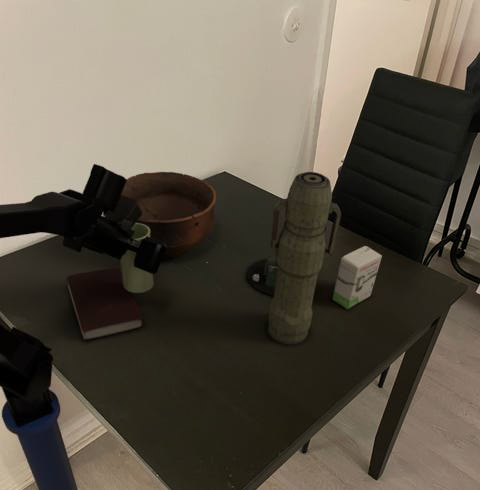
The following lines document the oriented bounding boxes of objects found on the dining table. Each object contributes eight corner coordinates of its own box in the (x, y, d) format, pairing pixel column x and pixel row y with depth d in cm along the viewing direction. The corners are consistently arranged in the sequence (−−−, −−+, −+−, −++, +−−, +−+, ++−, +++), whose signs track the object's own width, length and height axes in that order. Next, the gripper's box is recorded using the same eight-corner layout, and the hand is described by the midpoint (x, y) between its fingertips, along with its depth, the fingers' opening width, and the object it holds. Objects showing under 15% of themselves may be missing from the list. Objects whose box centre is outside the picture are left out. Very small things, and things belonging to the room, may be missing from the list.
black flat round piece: (249, 257, 128) (251, 238, 125) (308, 262, 128) (311, 244, 124) (245, 293, 117) (246, 274, 113) (309, 299, 116) (313, 280, 113)
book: (122, 276, 119) (121, 265, 117) (144, 328, 106) (143, 316, 104) (67, 287, 115) (65, 275, 113) (83, 342, 102) (81, 330, 100)
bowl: (202, 283, 119) (202, 227, 109) (102, 267, 121) (93, 211, 111) (223, 229, 138) (225, 177, 128) (136, 216, 140) (131, 165, 130)
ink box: (347, 310, 114) (358, 267, 107) (331, 299, 117) (340, 256, 109) (371, 296, 119) (383, 254, 111) (355, 286, 122) (365, 244, 114)
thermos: (258, 316, 111) (275, 165, 88) (311, 317, 112) (341, 167, 89) (261, 344, 104) (280, 189, 81) (318, 345, 105) (352, 191, 82)
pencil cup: (152, 293, 106) (148, 240, 97) (121, 292, 105) (115, 239, 97) (154, 275, 111) (151, 223, 102) (124, 274, 110) (119, 222, 102)
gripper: (158, 205, 87) (193, 232, 102) (74, 177, 93) (118, 206, 108) (134, 264, 87) (172, 283, 102) (51, 232, 93) (99, 254, 108)
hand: (140, 255), depth 105 cm, fingers closed on pencil cup, 6 cm apart
